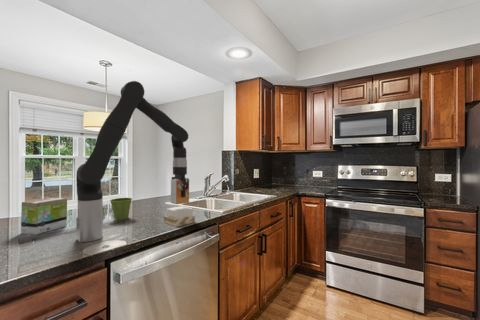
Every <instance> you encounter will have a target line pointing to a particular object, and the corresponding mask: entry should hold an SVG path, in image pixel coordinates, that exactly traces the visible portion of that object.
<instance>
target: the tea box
mask: <svg viewBox="0 0 480 320" xmlns="http://www.w3.org/2000/svg"><path fill="white" fill-rule="evenodd" d="M20 210H21V211H20V212H21V217H20V233H21V234H25V235H40V234H43V233H46V232H49V231H54V230H57V229H60V228H65V227H66V226H67V225H68V224H67V223H68V215H67V214H68V198H66V197H65V198H64V197H47V198H42V199H40V198H39V199H34V200H30V201H28V200H27V201H23V202H21V209H20Z"/></svg>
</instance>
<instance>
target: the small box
mask: <svg viewBox="0 0 480 320" xmlns="http://www.w3.org/2000/svg"><path fill="white" fill-rule="evenodd" d="M183 181H184V180H183ZM183 181H182V182H181V180H176V179H173V180H172V179H170V204H173V205H180V204H181V205H182V204H189V203H190V182H189V183H188V189H186V191H185V197H181V186H180V184H183Z"/></svg>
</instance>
